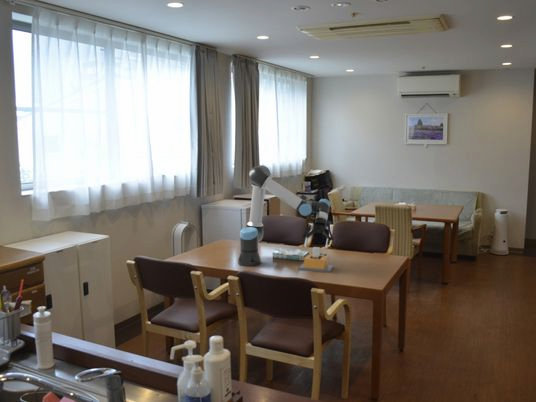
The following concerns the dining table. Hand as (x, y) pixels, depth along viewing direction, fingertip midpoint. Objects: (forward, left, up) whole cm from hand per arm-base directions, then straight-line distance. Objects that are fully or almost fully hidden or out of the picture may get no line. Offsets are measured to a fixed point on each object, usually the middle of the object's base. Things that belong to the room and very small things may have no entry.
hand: (315, 247), depth 317 cm
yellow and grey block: (0, +2, -14) cm, 14 cm away
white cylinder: (0, +2, -13) cm, 13 cm away
